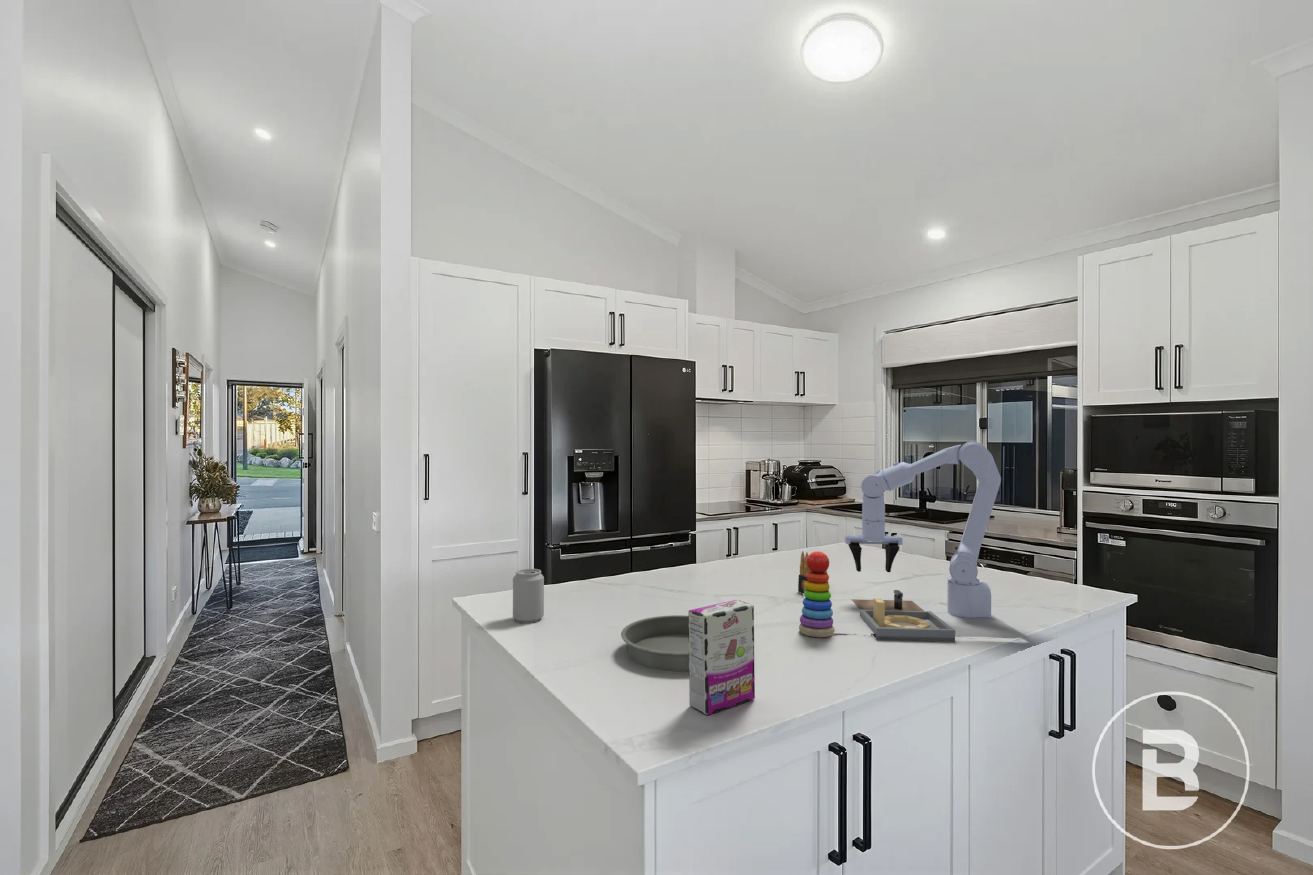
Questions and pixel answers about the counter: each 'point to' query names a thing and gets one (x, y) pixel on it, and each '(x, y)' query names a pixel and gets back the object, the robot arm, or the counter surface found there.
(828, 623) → the stacking toy
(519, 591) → the can
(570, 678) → the counter surface
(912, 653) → the counter surface
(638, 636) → the cake pan
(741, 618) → the candy bar box
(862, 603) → the stake board
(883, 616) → the ring
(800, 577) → the ammunition clip
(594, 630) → the counter surface
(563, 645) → the counter surface
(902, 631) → the tray
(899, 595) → the stake
